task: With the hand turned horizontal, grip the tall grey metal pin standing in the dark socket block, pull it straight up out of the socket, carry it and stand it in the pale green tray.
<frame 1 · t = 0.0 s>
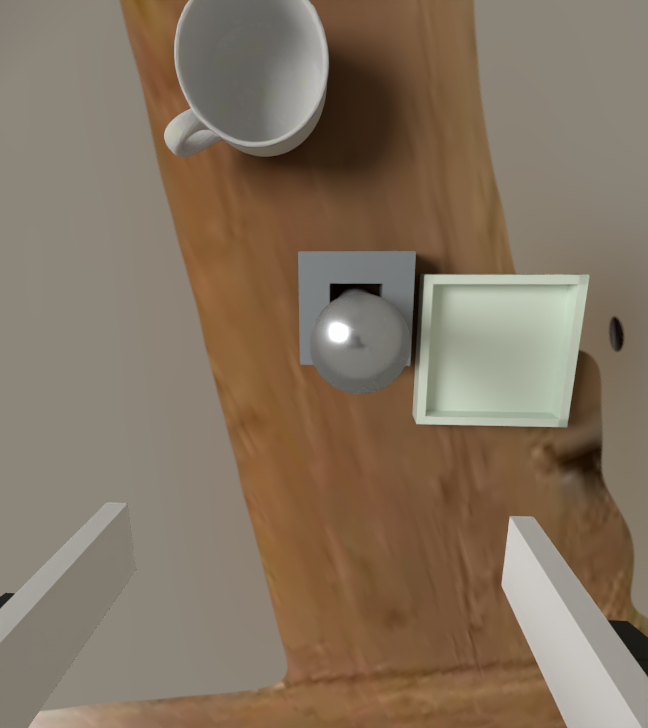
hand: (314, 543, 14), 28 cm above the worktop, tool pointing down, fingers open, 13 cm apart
socket block: (355, 305, 40), on the worktop
tray: (489, 347, 40), on the worktop
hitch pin: (356, 319, 31), in the socket block
teacup: (255, 111, 37), on the worktop
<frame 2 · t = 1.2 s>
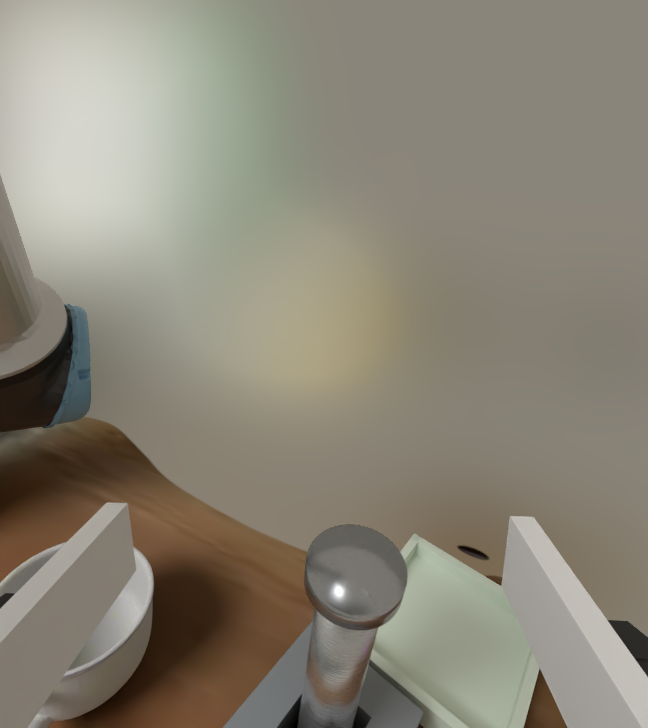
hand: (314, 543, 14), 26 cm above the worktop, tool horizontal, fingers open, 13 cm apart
tray: (444, 642, 37), on the worktop
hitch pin: (335, 671, 26), in the socket block
teacup: (73, 683, 32), on the worktop
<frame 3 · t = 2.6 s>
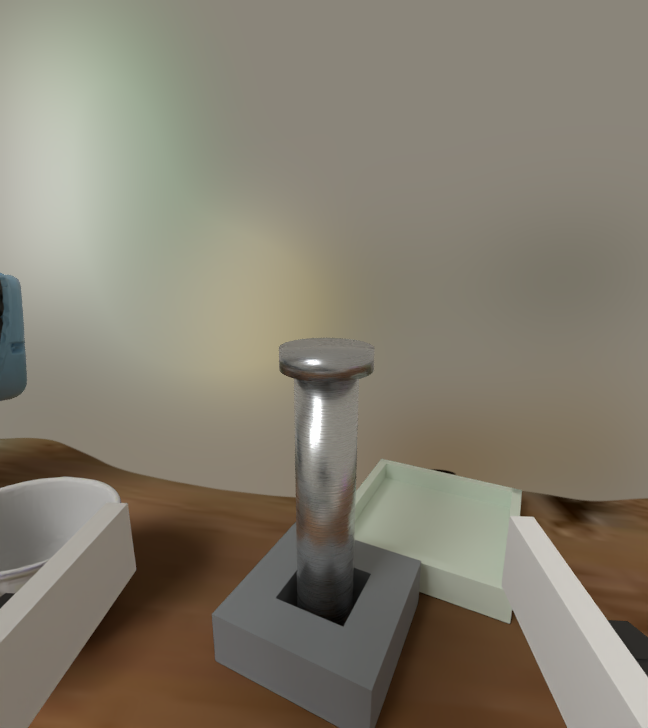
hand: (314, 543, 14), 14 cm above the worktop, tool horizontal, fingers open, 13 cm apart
socket block: (324, 629, 28), on the worktop
tray: (429, 533, 37), on the worktop
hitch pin: (325, 501, 25), in the socket block
teacup: (31, 637, 27), on the worktop
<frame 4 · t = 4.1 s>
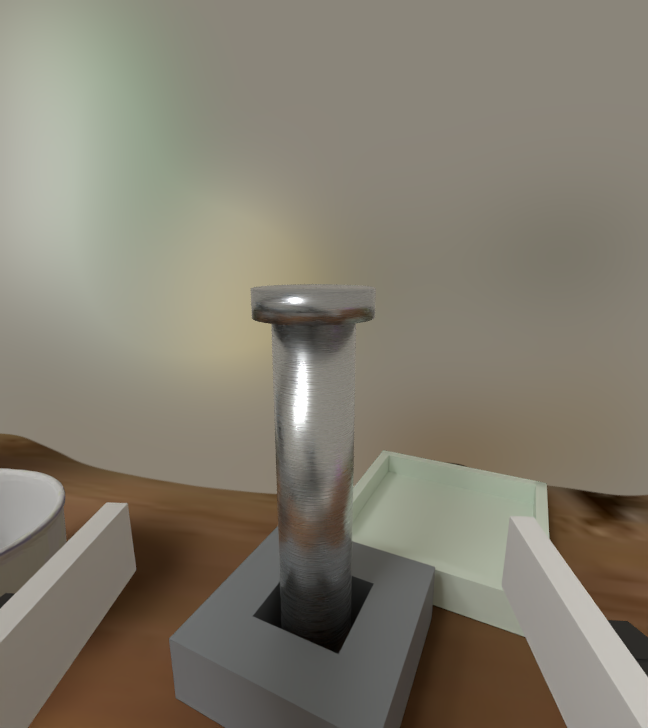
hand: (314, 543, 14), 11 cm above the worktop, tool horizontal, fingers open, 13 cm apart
socket block: (316, 653, 22), on the worktop
tray: (441, 534, 32), on the worktop
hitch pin: (315, 492, 20), in the socket block
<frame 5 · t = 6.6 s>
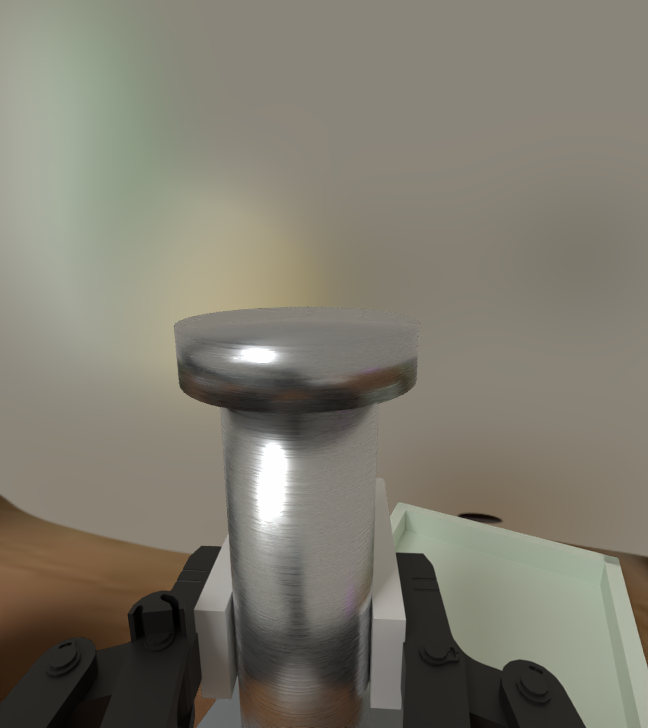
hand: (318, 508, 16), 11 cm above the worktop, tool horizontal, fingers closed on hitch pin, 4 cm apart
tray: (481, 635, 23), on the worktop
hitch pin: (304, 666, 12), in the socket block, touching gripper
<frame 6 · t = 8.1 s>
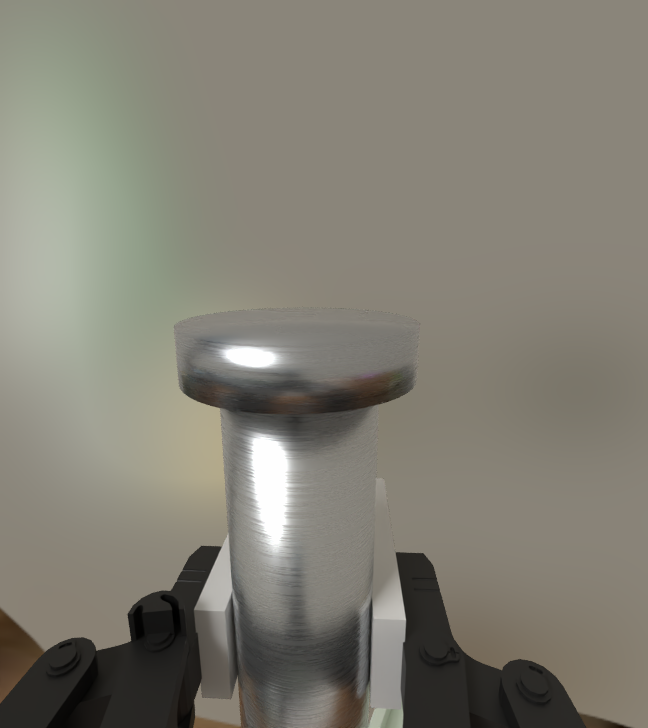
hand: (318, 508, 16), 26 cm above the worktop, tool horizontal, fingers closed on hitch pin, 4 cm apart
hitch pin: (304, 667, 12), point 25 cm above the worktop, touching gripper
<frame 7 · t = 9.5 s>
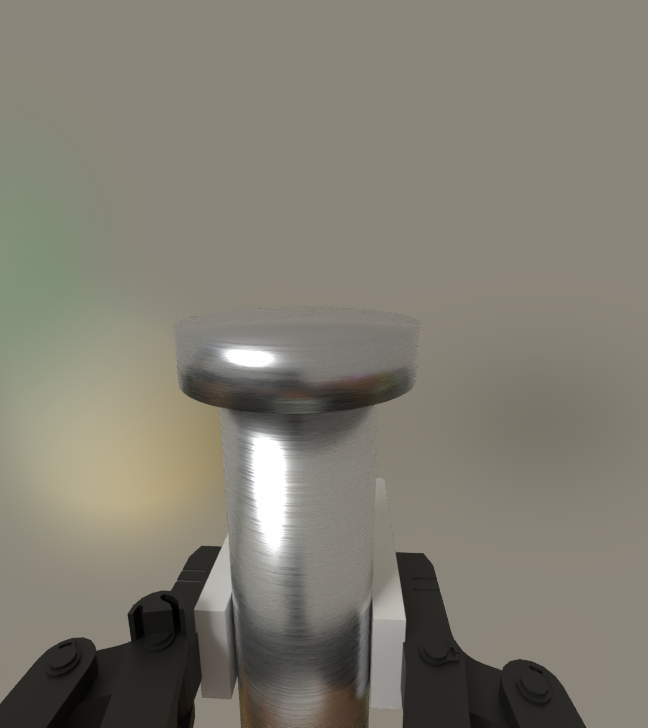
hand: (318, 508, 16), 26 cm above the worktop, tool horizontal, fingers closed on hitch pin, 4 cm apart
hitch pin: (304, 667, 11), point 25 cm above the worktop, touching gripper
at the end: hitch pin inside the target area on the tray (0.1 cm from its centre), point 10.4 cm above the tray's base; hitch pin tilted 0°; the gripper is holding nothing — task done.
